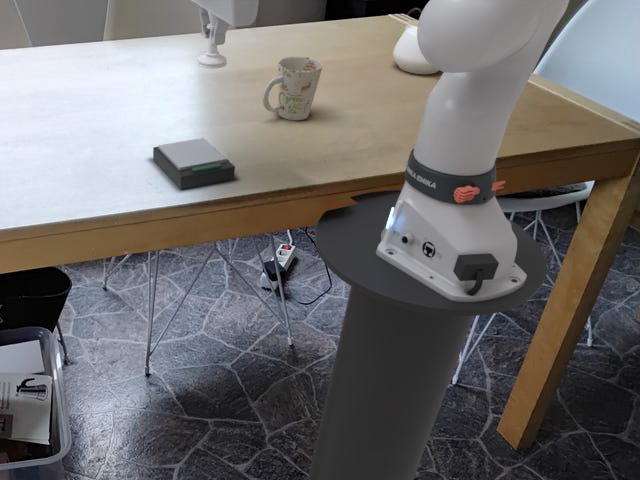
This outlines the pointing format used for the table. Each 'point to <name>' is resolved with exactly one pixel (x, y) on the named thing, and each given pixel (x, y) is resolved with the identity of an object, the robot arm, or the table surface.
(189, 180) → the scale
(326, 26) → the table surface
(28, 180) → the table surface
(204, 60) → the chess piece
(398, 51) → the teapot
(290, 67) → the mug
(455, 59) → the robot arm
